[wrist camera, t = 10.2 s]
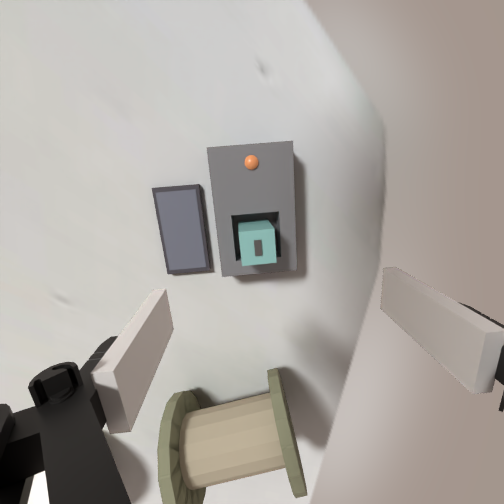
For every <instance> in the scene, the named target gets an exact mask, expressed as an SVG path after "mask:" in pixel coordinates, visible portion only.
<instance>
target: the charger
mask: <svg viewBox="0 0 504 504" xmlns="http://www.w3.org/2000/svg"><path fill="white" fill-rule="evenodd" d="M238 233H239V242H240V252H241V261H242V266H248V265H258V264H268V263H277V261H276V246H275V230H274V227H273V226H272V225H271V223H270V222H269V220H268V219H261V220H251V221H241V222H238Z"/></svg>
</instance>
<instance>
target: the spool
mask: <svg viewBox="0 0 504 504" xmlns="http://www.w3.org/2000/svg"><path fill="white" fill-rule="evenodd" d="M267 372H268V383H269V390H270V393H266V394H261V395H257V396H253V397H249V398H245V399H241V400H237V401H233V402H229V403H225V404H221V405H217V406H213V407H209V408H205V409H200V406H199V404H198V401H197V399H196V397H195V396H194V395H193V393H192V392H191V391H182V392H178V393H174V394H173V396H172V397H171V398H170V399H169V401H168V402H167V404H166V407H165V410H164V413H163V417H162V420H161V424H160V432H159V441H158V449H157V452H158V482H159V487H160V492H161V497H162V502H163V504H203V500H204V497H205V492H206V487H208V486H212V485H216V484H220V483H224V482H228V481H233V480H237V479H241V478H245V477H249V476H253V475H258V474H262V473H266V472H270V471H274V470H278V469H282V468H286V470H287V475H288V478H289V482H290V485H291V488H292V492H293V495H294V496H295V498H298V497H303V496H307V489H306V483H305V478H304V473H303V468H302V464H301V459H300V455H299V450H298V446H297V442H296V438H295V433H294V429H293V425H292V421H291V417H290V412H289V408H288V404H287V400H286V397H285V393H284V389H283V385H282V382H281V378H280V375H279V371H278V369H277V368H275V369H271V370H267Z"/></svg>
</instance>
